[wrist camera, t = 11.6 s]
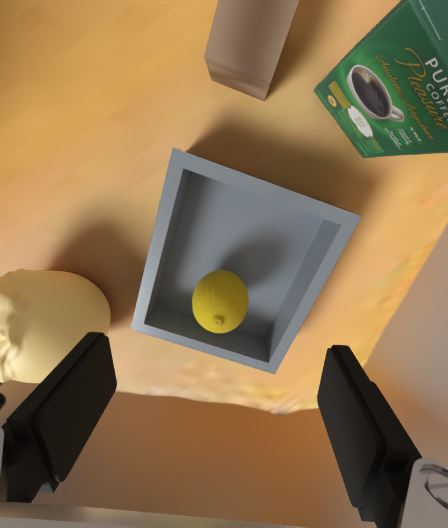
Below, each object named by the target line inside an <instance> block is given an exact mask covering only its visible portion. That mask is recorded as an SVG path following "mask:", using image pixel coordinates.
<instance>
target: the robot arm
mask: <svg viewBox="0 0 448 528" xmlns="http://www.w3.org/2000/svg"><path fill="white" fill-rule="evenodd" d="M116 386H117V381H116V375H115V370H114V365H113V359H112V354H111V349H110V343H109V338H108V337H107V336H105V334H104V333H103V332H88V333H87V334H86V335H85V336H84V337H83V338H82V339H81V340H80V341H79V342H78V343H77V344H76V346H75V347H74V348H73V349H72V350H71V351H70V352H69V353H68V354H67V355H66V356H65V357H64V358H63V359H62V361H61V362H60V363H59V364H58V365H57V366H56V367H55V368H54V369H53V370H52V371H51V372H50V373H49V374H48V376H47V377H46V378H45V379H44V380H43V381H42V382H41V383H40V384H39V385H38V386H37V387H36V389H34V391H33V392H32V393H31V394H30V395H29V396H28V397H27V398H26V399H25V401H23V402H22V403H21V404H20V406H19V407H18V408H17V409H16V410H15V411H14V412H13V413H12V414H11V415H10V416H9V417H8V418H7V422H6V423H5V424H4V425H3V426H2V427H0V528H307V527H296V526H286V525H276V524H266V523H256V522H245V521H235V520H224V519H214V518H202V517H191V516H181V515H170V514H159V513H147V512H137V511H125V510H113V509H101V508H89V507H78V506H66V505H51V504H35V503H32V500H33V499H34V497H35V496H36V494H37V493H38V492H44V493H54V491H55V490H56V488H57V486H58V484H59V483H60V482H63V481H64V480H65V479H66V477H67V476H68V474H69V472H70V471H71V469H72V467H73V465H74V463H75V462H76V460H77V458H78V456H79V455H80V453H81V451H82V449H83V447H84V446H85V444H86V442H87V440H88V439H89V437H90V435H91V433H92V431H93V430H94V428H95V426H96V424H97V423H98V421H99V419H100V417H101V415H102V413H103V412H104V410H105V408H106V406H107V405H108V403H109V401H110V399H111V398H112V396H113V394H114V392H115V390H116ZM317 401H318V406H319V409H320V411H321V415H322V418H323V421H324V424H325V427H326V430H327V433H328V436H329V439H330V442H331V445H332V448H333V451H334V454H335V457H336V460H337V463H338V466H339V469H340V472H341V475H342V478H343V481H344V484H345V487H346V490H347V493H348V496H349V499H350V501H351V504H352V506H353V507H356V508H358V511H359V514H360V517H361V520H362V521H370V522H375V524H376V526H377V528H448V465H445V464H444V463H442V462H439V461H438V460H434V459H430V458H422V456H421V455H420V453H419V451H418V450H417V448H416V447H415V445H414V444H413V442H412V440H411V439H410V437H409V436H408V434H407V432H406V431H405V429H404V428H403V426H402V425H401V423H400V421H399V420H398V418H397V417H396V415H395V414H394V412H393V410H392V409H391V407H390V406H389V404H388V402H387V401H386V399H385V398H384V396H383V395H382V393H381V392H380V390H379V388H378V387H377V385H376V384H375V383H374V382H372V381H370V380H369V378H368V376H367V375H366V373H365V372H364V370H363V368H362V367H361V365H360V363H359V362H358V360H357V359H356V357H355V355H354V354H353V352H352V351H351V349H350V347H349V346H346V345H332V347H331V348H328V349H327V353H326V357H325V362H324V367H323V371H322V376H321V381H320V386H319V390H318V395H317Z"/></svg>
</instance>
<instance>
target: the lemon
mask: <svg viewBox="0 0 448 528" xmlns="http://www.w3.org/2000/svg"><path fill="white" fill-rule="evenodd" d="M248 304H249V298H248V291H247V289H246V286H245V284H244V282H243V281H242V280H241V279H240V277H238V276H237V275H236V274H234V273H232V272H230V271H225V270H216V271H213V272H210V273H208V274H207V275H205V276H204V277H203V278H202V279H201V280H200V281H199V282H198V284H197V286H196V287H195V289H194V293H193V297H192V308H193V312H194V315H195V318H196V320H197V321H198V323H199V324H200V325H201V326H202V327H203V328H205V329H206V330H208V331H211V332H214V333H226V332H229V331H231V330H233V329H235V328H236V327H237V326H238V325H239V324H240V323H241V322H242V321H243V319H244V317H245V315H246V313H247V309H248Z"/></svg>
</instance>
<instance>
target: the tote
mask: <svg viewBox="0 0 448 528" xmlns="http://www.w3.org/2000/svg"><path fill="white" fill-rule="evenodd" d="M361 217H362V216H360V215H357V214H354V213H352V212H349V211H347V210H344V209H341V208H339V207H336V206H333V205H331V204H328V203H325V202H322V201H320V200H317V199H314V198H311V197H309V196H306V195H303V194H300V193H298V192H295V191H292V190H289V189H287V188H284V187H281V186H278V185H276V184H273V183H270V182H267V181H265V180H262V179H259V178H256V177H254V176H251V175H248V174H245V173H243V172H240V171H237V170H234V169H232V168H229V167H226V166H223V165H221V164H218V163H215V162H212V161H210V160H207V159H204V158H201V157H199V156H196V155H193V154H190V153H188V152H185V151H182V150H179V149H176V148H172V153H171V157H170V161H169V165H168V170H167V174H166V178H165V183H164V187H163V191H162V196H161V200H160V204H159V208H158V213H157V217H156V221H155V226H154V230H153V234H152V239H151V243H150V247H149V252H148V256H147V260H146V264H145V269H144V273H143V277H142V282H141V286H140V290H139V295H138V299H137V303H136V308H135V312H134V316H133V320H132V325H131V330H134V331H137V332H140V333H143V334H147V335H150V336H153V337H156V338H159V339H163V340H166V341H169V342H172V343H176V344H179V345H182V346H185V347H188V348H192V349H195V350H198V351H201V352H204V353H208V354H211V355H214V356H217V357H221V358H224V359H227V360H230V361H233V362H237V363H240V364H243V365H246V366H249V367H253V368H256V369H259V370H262V371H266V372H269V373H272V374H275V373H276V371H277V369H278V367H279V366H280V364H281V362H282V360H283V358H284V356H285V355H286V353H287V351H288V349H289V347H290V346H291V344H292V342H293V340H294V338H295V337H296V335H297V333H298V331H299V329H300V328H301V326H302V324H303V322H304V320H305V318H306V317H307V315H308V313H309V311H310V309H311V308H312V306H313V304H314V302H315V300H316V299H317V297H318V295H319V293H320V291H321V290H322V288H323V286H324V284H325V282H326V280H327V279H328V277H329V275H330V273H331V271H332V270H333V268H334V266H335V264H336V262H337V261H338V259H339V257H340V255H341V253H342V252H343V250H344V248H345V246H346V244H347V243H348V241H349V239H350V237H351V235H352V233H353V232H354V230H355V228H356V226H357V224H358V223H359V221H360V219H361ZM216 270H225V271H230V272H232V273H234V274H236V275H237V276H238V277H240V279H241V280H242V281H243V282H244V284H245V286H246V289H247V291H248V298H249V304H248V309H247V313H246V315H245V317H244V319H243V321H242V322H241V323H240V324H239V325H238V326H237V327H236V328H235V329H233V330H231V331H229V332H226V333H214V332H211V331H208V330H206V329H205V328H203V327H202V326H201V325H200V324H199V323H198V321H197V320H196V318H195V315H194V312H193V308H192V297H193V293H194V289H195V287H196V286H197V284H198V282H199V281H200V280H201V279H202V278H203V277H204V276H205V275H207V274H208V273H210V272H213V271H216Z"/></svg>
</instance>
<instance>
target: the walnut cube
mask: <svg viewBox="0 0 448 528" xmlns="http://www.w3.org/2000/svg"><path fill="white" fill-rule="evenodd" d="M298 3H299V0H218V4H217V8H216V12H215V16H214V20H213V24H212V28H211V32H210V36H209V40H208V44H207V48H206V52H205V56H204V58H205V61H206V64H207V67H208V70H209V73H210V76H211V79H212V81H215V82H217V83H220V84H222V85H225V86H227V87H230V88H232V89H235V90H237V91H240V92H242V93H245V94H247V95H250V96H252V97H255V98H257V99H260V100H262V101H264V100H265V98H266V95H267V92H268V89H269V86H270V83H271V80H272V78H273V75H274V72H275V69H276V66H277V63H278V60H279V57H280V55H281V52H282V49H283V46H284V43H285V40H286V37H287V34H288V31H289V29H290V26H291V23H292V20H293V17H294V14H295V11H296V8H297V6H298Z"/></svg>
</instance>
